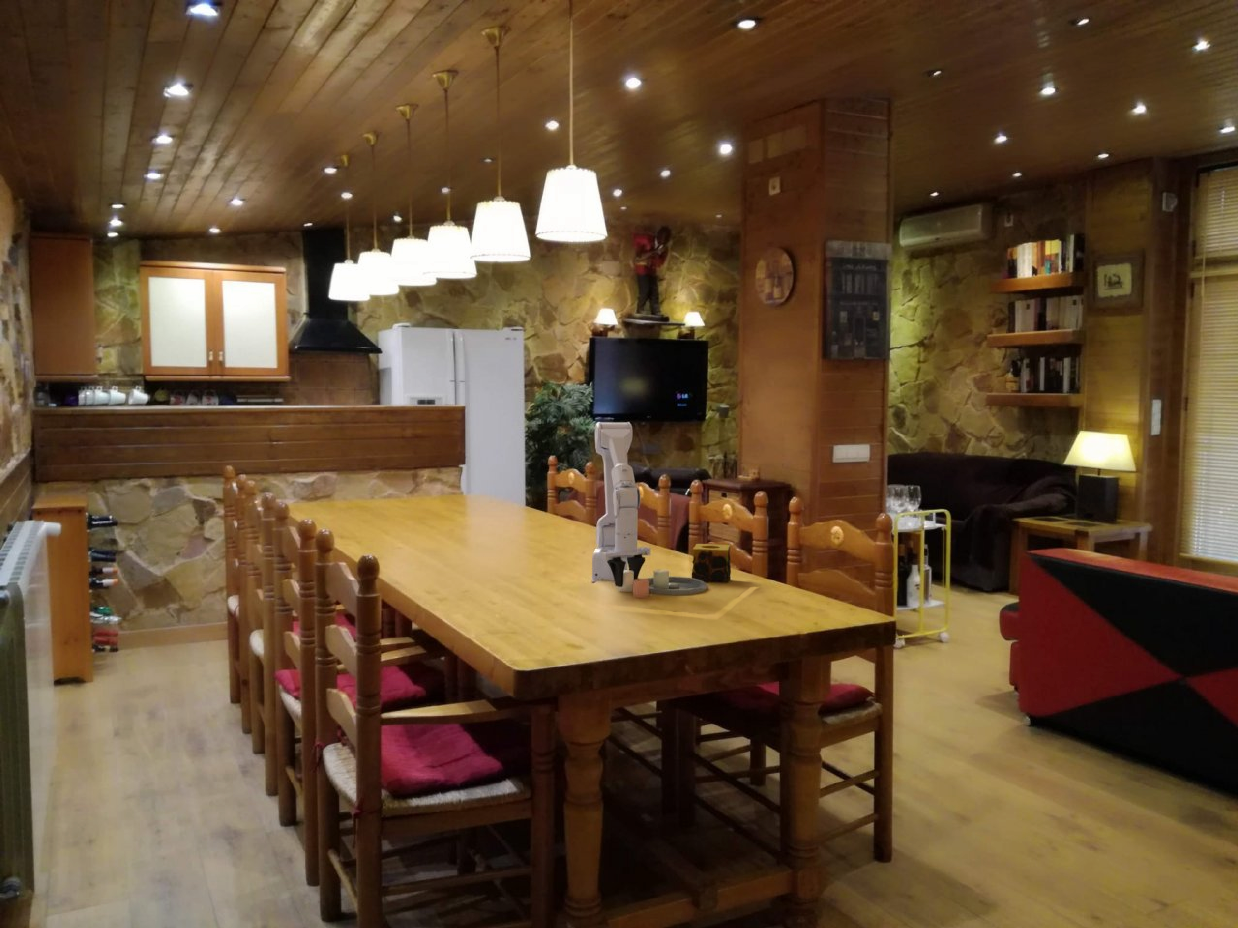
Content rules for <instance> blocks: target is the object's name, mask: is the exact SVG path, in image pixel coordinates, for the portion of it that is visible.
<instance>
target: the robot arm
mask: <svg viewBox="0 0 1238 928" xmlns="http://www.w3.org/2000/svg"><path fill="white" fill-rule="evenodd" d="M632 441H633V426H632V424H631V423H630V421H627V422H600V421H598V422H596V424H595V425H594V447H595V448H594V449H595V453H596V454H598V455H600V456H601V458H602V462H603V478H604V479H603V481H604V495H605V496H604V499H605V500H604V501H605V514H604V515H602V516H601V517H600V518H598V520H597V522H596V530H595V542H596V543H595V544H596V546H597V548H595V550H594V551H593V553H592V557H591V558H592V559H591V580H590V582H591V583H596V582H598V581H601V580H604V581H605V580H606V581H613V582H614V583H615V584H614V585H615V586H616V587H617V588H618V587H622V586H623V573H624V570H630V571H634V580H635V579H639V576H640V575H639V574H640V572H641V570H642V568H643V565H644V563H646V557H645V556H651V547H648V546H641V547H638V528H639V527H638V524H639V523H638V515H639V514H638V511H639V510H638V509H640V506H641V501H642V499H641V497H642V496H641V491H640V487H639V486H638V483H636V481H635V476H634V470H633V467H632V466H631V465H629V464H628V452H629V450H630V447H631V444H632Z"/></svg>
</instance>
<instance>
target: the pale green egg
mask: <svg viewBox="0 0 1238 928" xmlns="http://www.w3.org/2000/svg"><path fill="white" fill-rule="evenodd" d="M669 577H670V571H669V570H668V569H667V570H666V569H655V570H653V577H652V578H653V588H659V589H669Z"/></svg>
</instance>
